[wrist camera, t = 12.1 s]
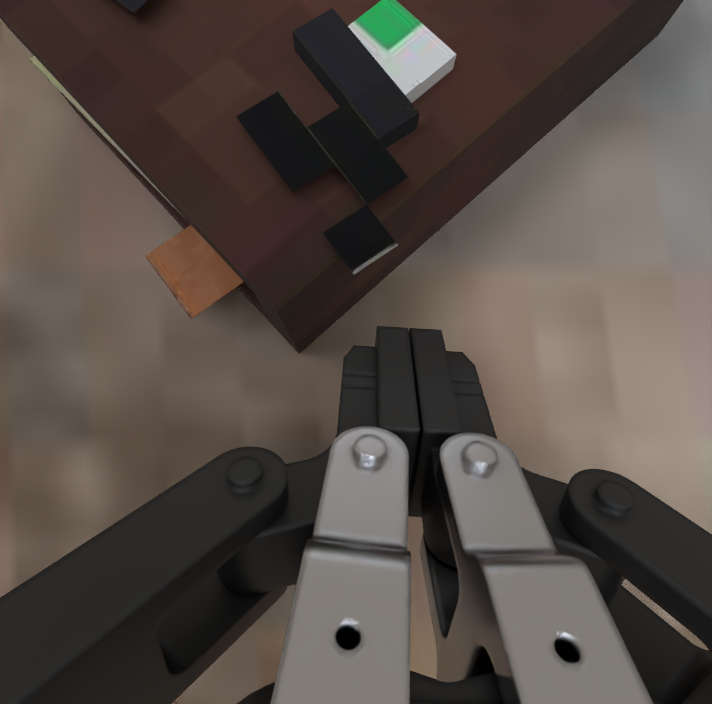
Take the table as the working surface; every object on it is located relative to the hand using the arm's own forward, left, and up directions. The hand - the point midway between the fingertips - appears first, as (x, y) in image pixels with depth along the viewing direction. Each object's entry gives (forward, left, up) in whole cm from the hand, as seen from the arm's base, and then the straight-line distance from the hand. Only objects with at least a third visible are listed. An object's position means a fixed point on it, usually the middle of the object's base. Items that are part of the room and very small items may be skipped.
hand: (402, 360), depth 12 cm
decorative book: (+16, +5, -10) cm, 20 cm away
